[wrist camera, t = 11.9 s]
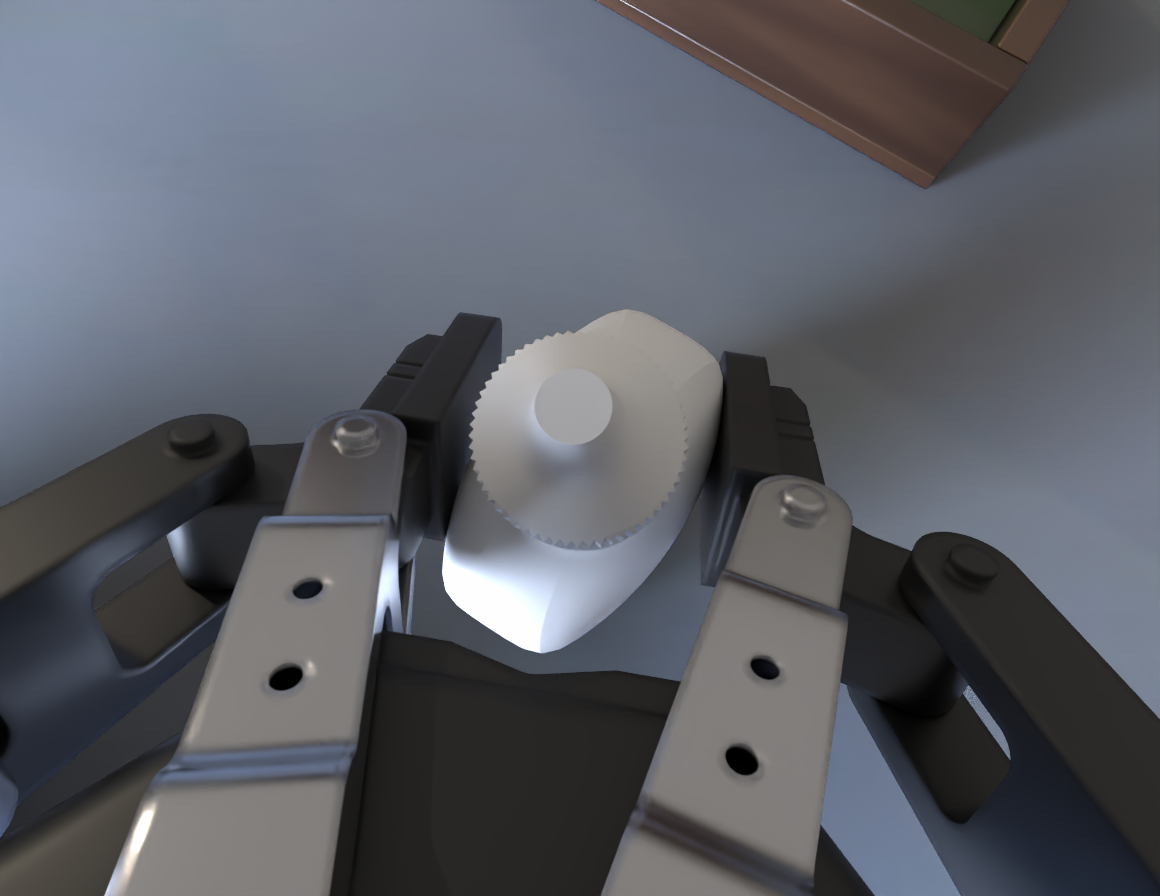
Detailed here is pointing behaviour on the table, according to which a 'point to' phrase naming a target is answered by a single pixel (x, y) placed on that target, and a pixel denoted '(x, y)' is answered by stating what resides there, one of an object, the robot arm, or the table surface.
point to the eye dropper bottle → (580, 476)
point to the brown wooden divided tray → (866, 63)
